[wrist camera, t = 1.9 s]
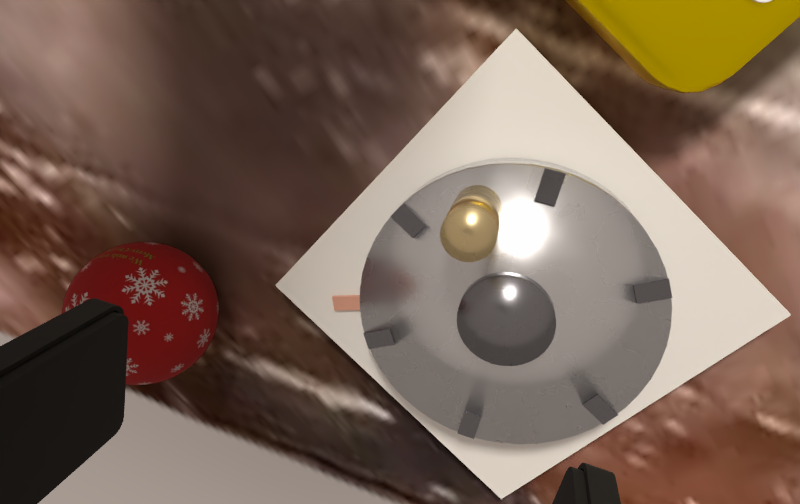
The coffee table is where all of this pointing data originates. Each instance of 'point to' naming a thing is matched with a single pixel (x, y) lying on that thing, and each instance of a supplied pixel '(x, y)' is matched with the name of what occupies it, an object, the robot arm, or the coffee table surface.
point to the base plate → (570, 147)
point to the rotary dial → (515, 301)
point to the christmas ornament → (153, 305)
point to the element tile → (687, 36)
